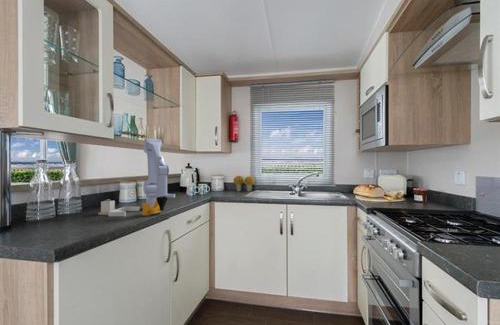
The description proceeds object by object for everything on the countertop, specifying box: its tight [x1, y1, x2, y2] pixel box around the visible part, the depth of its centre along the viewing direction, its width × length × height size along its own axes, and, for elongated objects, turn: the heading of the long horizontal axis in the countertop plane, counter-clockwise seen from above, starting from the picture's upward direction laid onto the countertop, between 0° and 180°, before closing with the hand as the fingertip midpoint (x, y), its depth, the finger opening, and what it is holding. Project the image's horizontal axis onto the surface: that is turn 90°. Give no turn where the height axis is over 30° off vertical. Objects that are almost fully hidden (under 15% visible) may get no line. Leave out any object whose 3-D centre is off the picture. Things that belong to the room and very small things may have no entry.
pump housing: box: [97, 198, 116, 216], centre depth 141 cm, size 7×7×8 cm
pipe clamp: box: [142, 201, 162, 216], centre depth 141 cm, size 12×4×6 cm, turn 164°
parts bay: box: [108, 205, 141, 218], centre depth 141 cm, size 18×9×2 cm, turn 0°
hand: (162, 210), depth 141 cm, fingers closed
